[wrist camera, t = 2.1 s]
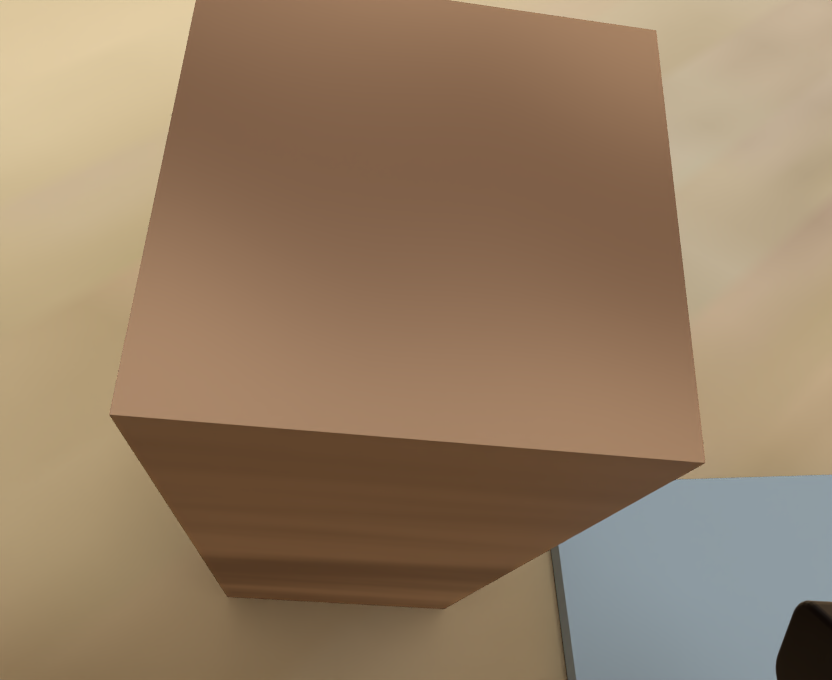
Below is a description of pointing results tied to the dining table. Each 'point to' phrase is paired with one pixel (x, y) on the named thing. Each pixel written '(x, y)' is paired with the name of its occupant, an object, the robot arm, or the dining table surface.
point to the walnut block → (407, 296)
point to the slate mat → (695, 579)
